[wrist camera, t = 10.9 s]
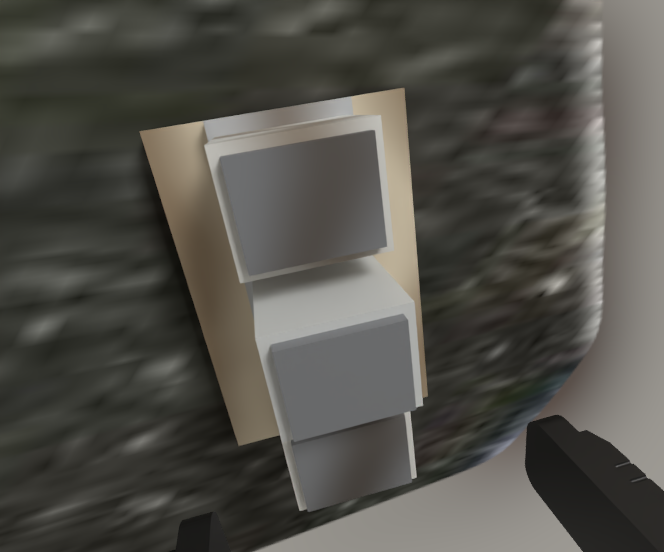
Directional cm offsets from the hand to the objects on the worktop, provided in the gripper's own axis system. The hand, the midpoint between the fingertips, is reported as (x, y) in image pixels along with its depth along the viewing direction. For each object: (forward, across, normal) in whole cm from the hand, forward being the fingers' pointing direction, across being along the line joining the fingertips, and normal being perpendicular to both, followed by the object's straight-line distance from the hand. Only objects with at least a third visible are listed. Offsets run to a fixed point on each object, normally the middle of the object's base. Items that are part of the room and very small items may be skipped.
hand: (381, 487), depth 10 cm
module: (+12, 0, 0) cm, 12 cm away
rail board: (+14, 0, 0) cm, 14 cm away
